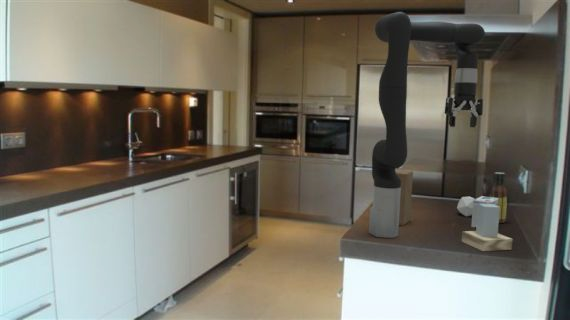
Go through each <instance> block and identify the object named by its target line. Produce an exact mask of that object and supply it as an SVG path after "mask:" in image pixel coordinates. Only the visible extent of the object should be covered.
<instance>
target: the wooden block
mask: <svg viewBox="0 0 570 320" xmlns="http://www.w3.org/2000/svg"><path fill="white" fill-rule="evenodd" d="M395 171H396V174H397V175H398V177H399V178H400V179H401V193H400V209H399V226H403V227H404V225H406V224H408V223H409V222H410V220H411V212H412V211H411V210H412V209H411V208H412V197H413V196H412V192H413V180H414V170H407V169H399V168H395Z"/></svg>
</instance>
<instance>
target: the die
mask: <svg viewBox="0 0 570 320" xmlns="http://www.w3.org/2000/svg"><path fill="white" fill-rule="evenodd" d="M475 199H476V198H474V197H471V196H470V195H469V196H462V197H461V198H460V200H459V201H458V203H457V207H456V209H457V210H458V212H459V213H460V214H461V215H463V216H464V217H472V211H473V200H475Z"/></svg>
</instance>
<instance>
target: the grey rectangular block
mask: <svg viewBox="0 0 570 320" xmlns="http://www.w3.org/2000/svg"><path fill="white" fill-rule="evenodd" d="M499 213H500V207H498V206H496V205H494V204H478V214H477V227H476V228H475V229H476V230H475V231H476V233H477V234H479V235H480V236H482V237H497V236H498V233H499V224H500V223H499Z"/></svg>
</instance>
